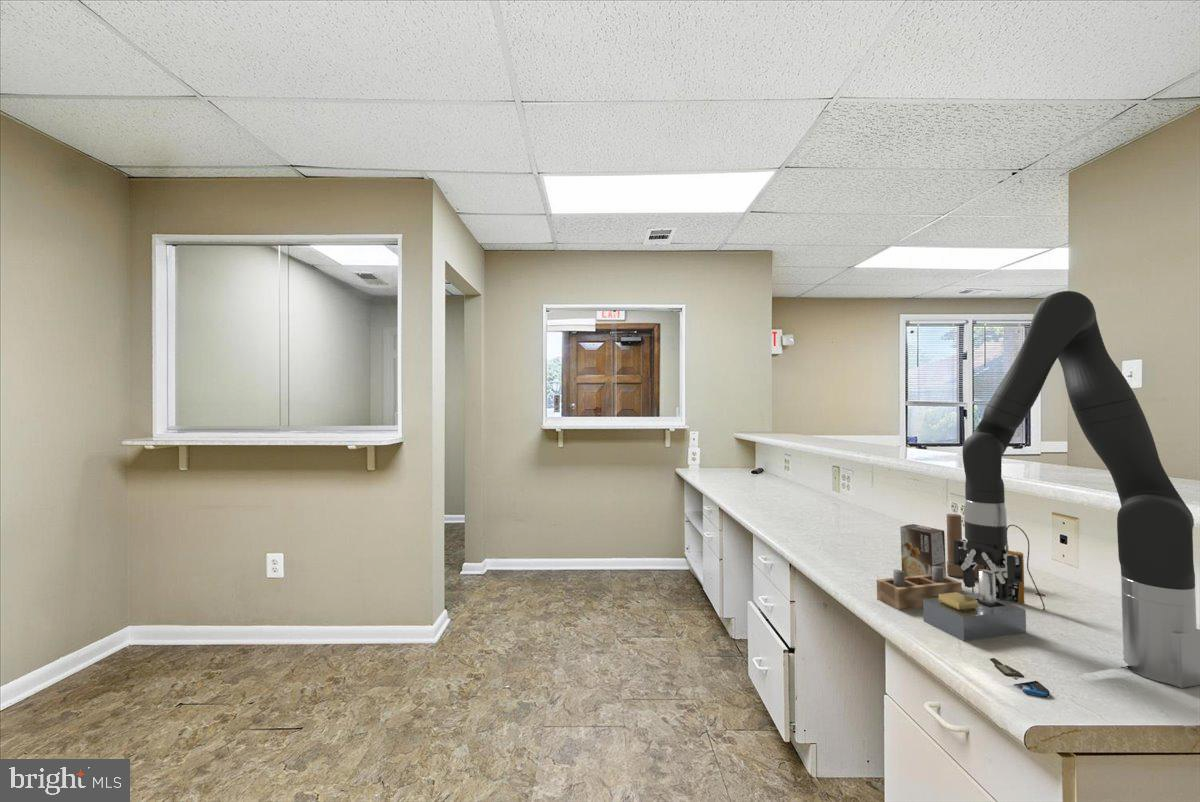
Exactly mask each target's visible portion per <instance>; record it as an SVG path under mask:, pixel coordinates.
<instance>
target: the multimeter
mask: <svg viewBox="0 0 1200 802" xmlns="http://www.w3.org/2000/svg"><path fill="white" fill-rule="evenodd" d="M1011 526H1013V527H1016V528H1017V529H1019V531H1021V532H1022V533H1023V535H1024V536H1025V537H1026V538H1025V539H1027V544H1028V545H1027V557H1026V558H1027V559H1026V561H1027V562H1026V567H1027V572H1028V575H1029V576H1030V579H1031V581H1032V583H1033V585H1034V587H1035V590H1036V592H1037V593H1038V596H1039V598H1040V601H1041V603H1042V607H1043V609H1042V611H1043V610H1044V611H1045V610H1046V608H1045V603H1044V601H1043V599H1042V598H1043V597H1042V595H1041V594H1040V591H1039V589H1038V587H1037V585H1036V583H1035V581H1034V579H1033V577H1032V574H1031V572H1030V569H1029V559H1030V540H1029V537H1028V535H1027V534H1026V533H1025V531H1024V530H1023V529H1022V528H1021V527H1020V526H1018V525H1015V524H1010V525H1007V531H1008V529H1009V528H1010V527H1011ZM1008 543H1009V542H1008V539H1007V543H1006V545H1005V550H1006V552H1007V554H1011V555H1020V556H1021V558H1022V580H1023V581H1022V583H1015V584H1012V599H1010V600H1009V601H1010V602H1015V603H1019V604H1025V571H1024V570H1025V568H1024V564H1025V563H1024V560H1025V559H1024V552H1021V551H1015V550H1014V551H1013V550H1009V544H1008ZM1004 561H1006V560H1004ZM1006 564H1007V563H1006ZM997 568H1001V567H1000V566H998V567H997ZM984 569H985V570H990V571H991V569H990V568H987V567H985V566H984ZM1002 574H1003V573H1002ZM1003 576H1004V575H1003ZM1004 577H1005V576H1004ZM999 583H1000V581H999V579H998V578H997V576H996V574H995V589H996V599H999V600H1000V598H999ZM971 590H972V593H971V594H975V591H974V590H975V589H974V587H971Z"/></svg>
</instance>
